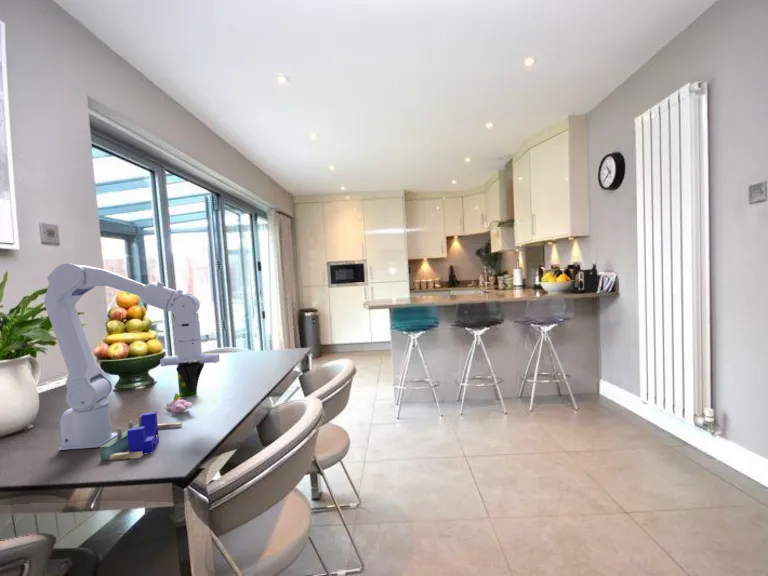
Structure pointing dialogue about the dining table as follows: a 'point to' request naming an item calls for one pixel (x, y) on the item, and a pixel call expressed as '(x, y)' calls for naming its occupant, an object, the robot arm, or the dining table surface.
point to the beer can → (184, 388)
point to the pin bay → (125, 443)
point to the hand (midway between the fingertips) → (192, 391)
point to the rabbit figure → (178, 405)
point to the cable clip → (144, 434)
